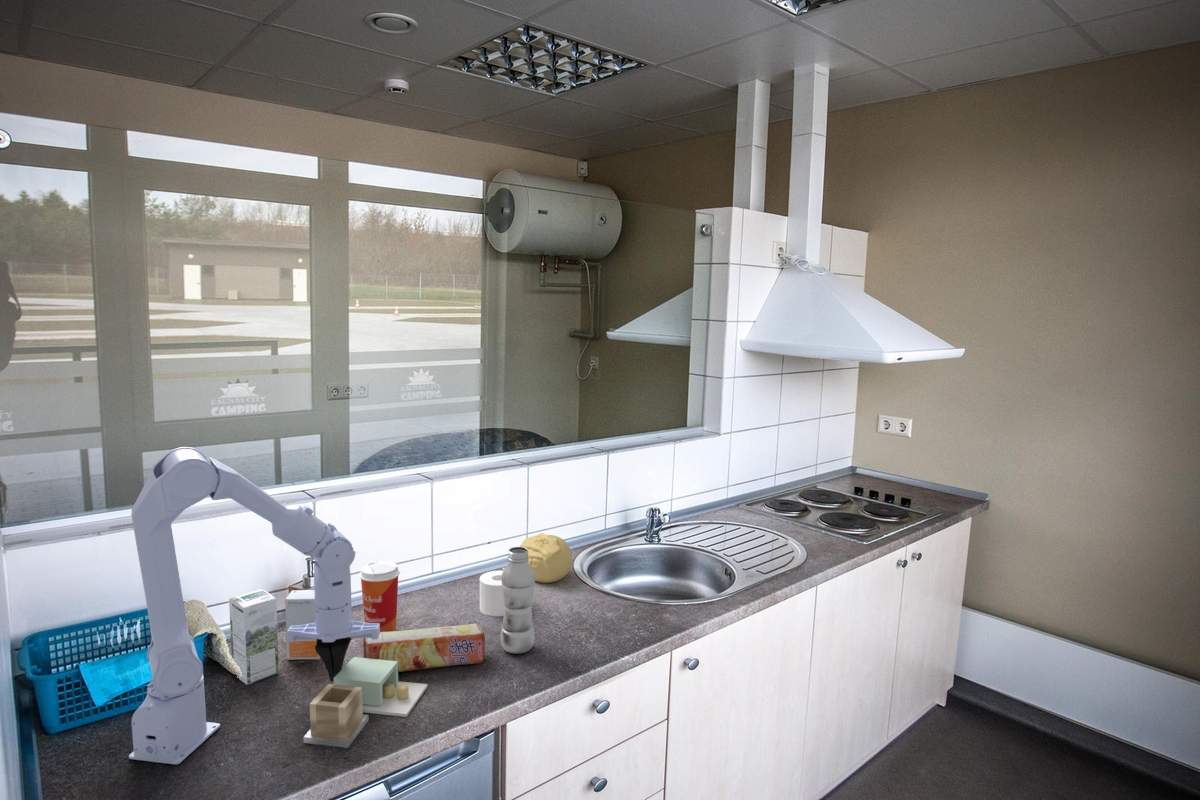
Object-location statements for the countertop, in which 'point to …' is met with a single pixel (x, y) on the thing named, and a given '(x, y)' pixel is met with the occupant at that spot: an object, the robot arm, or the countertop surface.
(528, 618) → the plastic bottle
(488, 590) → the toilet paper
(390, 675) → the cover
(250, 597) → the syrup box
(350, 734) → the pin plate
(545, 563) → the sculpture
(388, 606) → the paper cup
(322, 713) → the hollow square wooden block
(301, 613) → the skincare box
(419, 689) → the plate
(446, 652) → the snack package
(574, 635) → the countertop surface
